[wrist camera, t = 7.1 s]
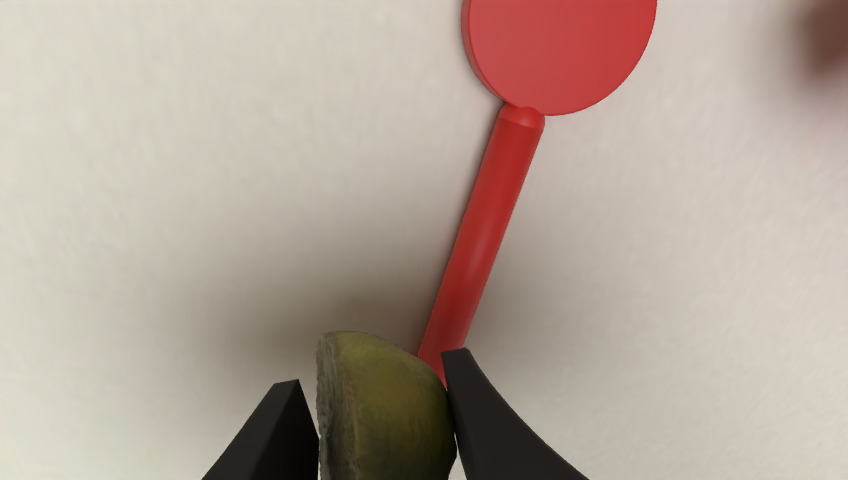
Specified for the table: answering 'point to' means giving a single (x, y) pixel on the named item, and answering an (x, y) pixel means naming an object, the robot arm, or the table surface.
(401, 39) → the table surface
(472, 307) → the red paddle lollipop
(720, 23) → the table surface
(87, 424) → the table surface
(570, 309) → the table surface
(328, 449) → the lime
